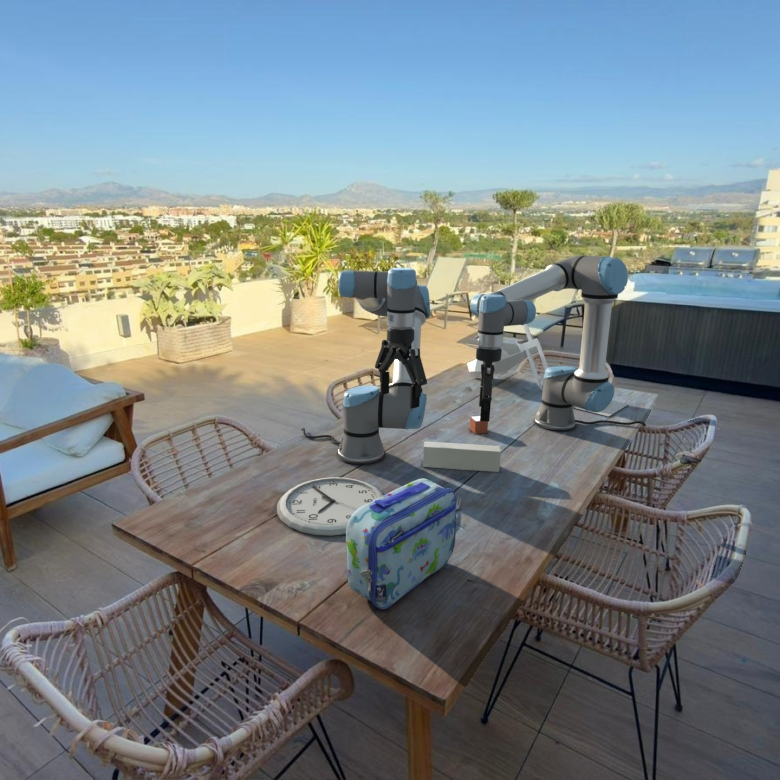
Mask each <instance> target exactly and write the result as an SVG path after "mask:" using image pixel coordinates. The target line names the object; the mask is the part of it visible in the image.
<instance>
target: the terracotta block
mask: <svg viewBox="0 0 780 780" xmlns="http://www.w3.org/2000/svg"><path fill="white" fill-rule="evenodd" d="M469 421H470V422H469V430H470V431H471V432H472V433H473V434H474V435H477V434H488V429H489V428H488V427H489V422H487V421H480V415H479V416H470V420H469Z"/></svg>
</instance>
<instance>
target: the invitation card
mask: <svg viewBox="0 0 780 780" xmlns="http://www.w3.org/2000/svg"><path fill="white" fill-rule="evenodd" d="M627 406H628V404H627V403H623V402H618V401H614V400H612V401H611V402H610V404H609V405H608V406H607V408H605V409H604V410H603V411H601V412H592V411H586V410H585V409H582V408H579V407H576V406H574V407H573V409H575V410H580V411H584V412H587V413H592V414H594V415H595V414H596V415H600V416H603V417H608V418H609V417H611V416H612V415H614V414H616V413H617V412H619V411H620V410H622V409H624V408H625V407H627Z"/></svg>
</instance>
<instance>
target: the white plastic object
mask: <svg viewBox="0 0 780 780" xmlns="http://www.w3.org/2000/svg"><path fill="white" fill-rule="evenodd" d="M522 326H523V328H524V332H525V334H526V338H527V341H525V342H523V343H519V342H518V341H517V338H516V337H510V338H506V339H503V344H502V347H500V348H501V349H502V353H501V360H500V361H498V362H493V363H492V365H494V367H495V369H494V373H493V376H497V375H498V376H499V377H501V376H504V375H506V374H509V371H510V370H511V369H513V368H514V367H516V366H517V365H519V363H521V362H522V361H524V360H525V359H526V358H527V359H528V363H529V367H530V369H531V372H532V375H533V378H534V381H535V384H536V385H537V386H538V388H539V389H540V391H543V384H542V382H541V380H540V376H539V374H538V370H537V367H536V365H535V361H534V358H533V355H534V354H536V353H538V355H539V357H540V360H541V363H542V367H543V369H544V371H545V370H546V369H547V368H549V366H548V363H547V359H546V357H545V353H544V350H543V348H542V345H541V342H540V340H539V339H538V338H537V337H535V338H533V336H532V334H531V331H530V328H529V325H528V324H524V325H522ZM481 364H483V361H479V360H477V359H476V358H475V359H474V360H472V361H470V362H467V363H466V366H467V369H468V373H469V374H470V376H471V377H472V378H481Z"/></svg>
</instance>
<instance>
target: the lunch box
mask: <svg viewBox="0 0 780 780" xmlns="http://www.w3.org/2000/svg"><path fill="white" fill-rule="evenodd" d="M456 498H457V495H456V493H455V491H454V489H452V488H450V487H443V486H441V485H439V484H438V483H436V482H433V481H432V480H430V479H427V478H423V477H422V478H418V479H416V480H413V481H411V482H409V483H406V484H405V485H402V486H400V487H398V488H396V489H394V490H392V491H390V492H388V493H386V494H384V496H382V497H380V498H378V499H376V500H374V501H372V502H370V503H368V504H366V505H364V506H362V507H360V508H358V509H357V510H356V511H355V512H354V513H353V514H352V515H351V517H350V519H349V521H348V524H347V528H346V534H345V547H346V549H345V550H346V572H347V573H346V575H347V584H348V587H349V589H350V590H351V591H353V592H355V593H357V594H358V595H361V596H363V597H364V598H365V599H367V600H368V601H369V602H371V604H372V605H373V606H374V607H376V608H377V609H380V610H386V609H389V608H391V607H393V605H395V603H397V602H398V601H399V600H400V599H402V598H403V597H404V596H405V595H408V593H410V592H411V591H412V590H413V589H415V588H416V587H417V586H419V585H420V584H421V583H423V581H424V580H425V579H427V578H428V577H430V576H431V575H433V574H435V573H437V572H438V571H439V570H441V569H442V568H443V567H444V566H446V564H447V563H448V562H449V560H450V559H451V556H452V555H453V552H454V548H455V544H456V531H457V530H456V529H457V510H456V502H457V499H456Z"/></svg>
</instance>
